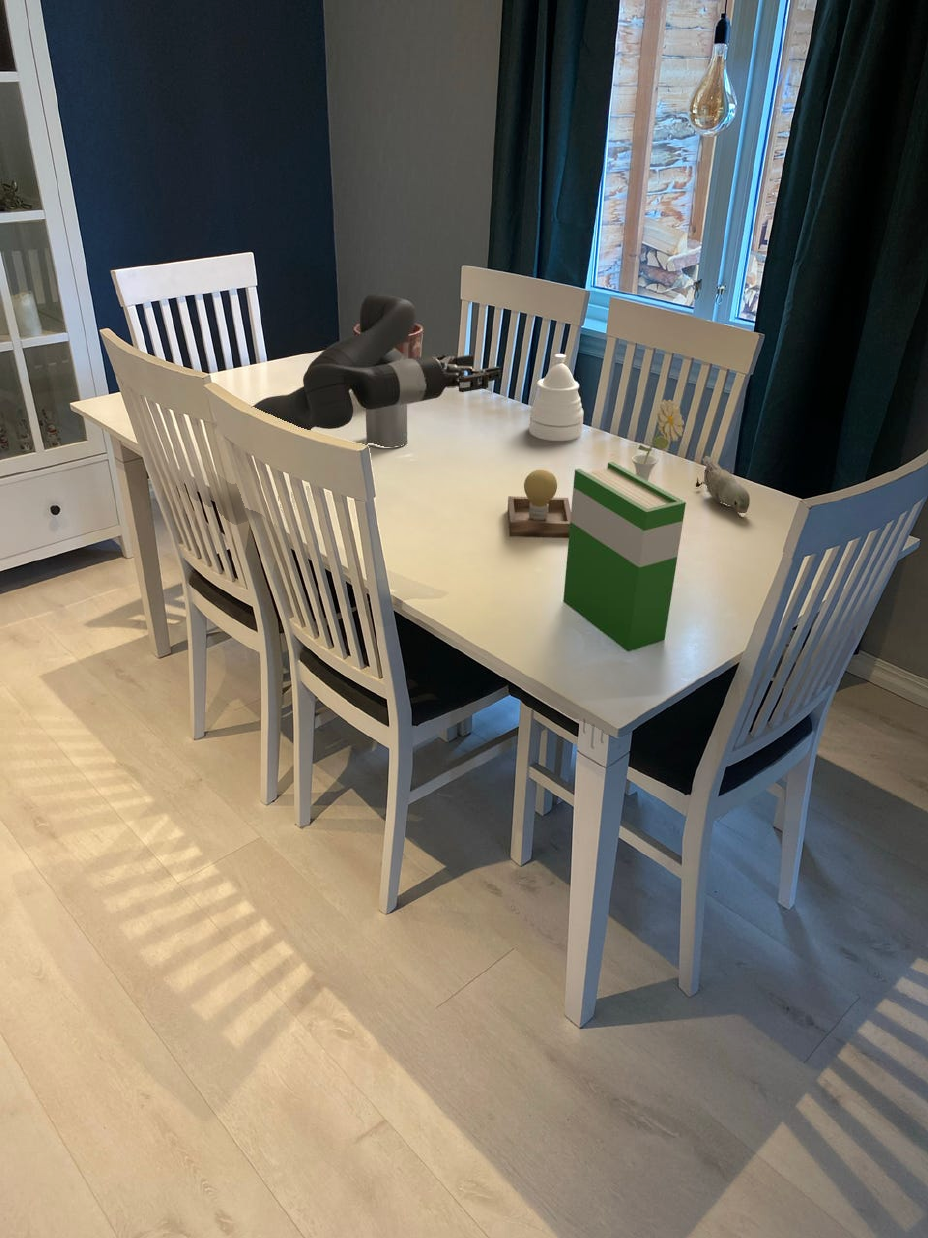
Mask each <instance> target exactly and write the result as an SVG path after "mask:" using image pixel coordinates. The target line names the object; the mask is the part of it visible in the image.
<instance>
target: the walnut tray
mask: <svg viewBox="0 0 928 1238" xmlns="http://www.w3.org/2000/svg"><path fill="white" fill-rule="evenodd" d="M530 502H531V501H530V500H529V498H528V497H527V496H508V498H507V517H508V518H507V521H508V531H509V532H508V533H509V535H508V536H509V537H512V538H513V537H518V538H519V537H521V538H551V539H552V538H555V539H556V538H557V539H560V538H561V539H569V531H570V519H571V506H570V505H571V504H570V499H569V497H553V498H552V499H551V500H550V501H549V502H548V504H549V508H548V517H547V519H545V520H543V521H535V520H532V519H531V518H530V517H529V508H530V507H529V505H530Z"/></svg>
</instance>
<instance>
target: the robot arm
mask: <svg viewBox="0 0 928 1238" xmlns="http://www.w3.org/2000/svg"><path fill="white" fill-rule="evenodd" d="M416 313H417V312H416V308H415V306H414V305H413V304H412V303H411V302H410V300H407V299H405V298H402V297H399V296H393V295H387V294H381V293H370V294H368V295H366V297H365V298H364V300H363V301H362V303H361V306H360V311H359V324H360V332H361V333H360V334H357V335H354V334H353V335H351V336H349V337H346V338H344V339H341V340H339V341H336V342H334V343H332V344H331V345H329V346H327V347H326V348H325V349H324V350H323V351H322V352H321V353H320V354H319V355H318V356H316V357H315V359H313V361H311V362H310V364H309V366H308V368H307V370H306V371H305V373H304V374H303V376H302V384H303V386H302V387H299V388H298V389H296V390H294V391H293V392H291V393H289V394H284V395H275V396H274V395H273V396H269V397H266V398H263V399H262V400H259V401H258V402H257V403H255V404H253V406H252V407H255V408H257V409H259V410H261V411H263V412H265V413H268V414H271V415H273V416H275V417H277V418H280V419H282V420H284V421H287V422H289V423H292V424H294V425H296V426H298V427H301V428H304V429H307V430H310V431H311V430H312V429H313V428H319V429H325V430H333V429H334V430H335V429H339V428H342V427H345V426H346V425H347V424H349V423H350V422H351V420H352V419H353V416H354V406H353V402H352V401H353V400H352V398H351V392H350V390H351V391H352V393H353V395H354V397H355V399H356V400H357V402H358V403H359V405H360V406H361V407H362V408H363V409H364V410H365V427H366V428H365V432H366V433H365V434H366V435H365V436H366V439H365V440H366V445H367V444H368V443H374V444H377V445H380V446H384V447H395V446H401V445H403V444H405V443H406V444H407V443H408V405H411V404H415V403H418V402H424V401H430V400H433V399H437V398H440V396H441V395H442V394H443V392H444V390H445V389H446V388H448V389H455V388H457V387H458V392H459V393H466V392H472V391H477V390H483V389H488V388H489V382H492V381H493V382H494V381H498V380H501V378H502V367H501V366H498V365H497V366H492V367H487V368H482V369H480V368H479V369H478V368H473V367H474V355H472V354H466V355H460V356H456V357H455V356H453V355H449V356H447V354H444V353H442V354H437V355H430V354H429V355H428V354H427V355H421V357H415V358H410V359H406V357H405V356H404V355H403V354H402V353H401V352H399V351H398V350H397V349H396V348H395V347H396V346H398V345H399V344H400V343H401V342H403V341H404V340H405V339H406V338H407V337H408V335H409V334H410V333H411V331H412V329H413V327H414V324H415V323H416V319H417V314H416ZM465 372H466V373H467V375H466V374H465ZM406 444H405V445H406ZM369 446H370V445H369ZM370 447H371V446H370ZM401 447H402V446H401Z"/></svg>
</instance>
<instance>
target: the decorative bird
mask: <svg viewBox="0 0 928 1238" xmlns="http://www.w3.org/2000/svg"><path fill="white" fill-rule="evenodd" d="M702 461H703V464H704V465H705V469H704V474H703V475H704V476H703V481H701V482H699V478H698V477H696V483H695V487H699V486H701V485H705V487H706V486H707V488H706V489H707V491H708V492H709V494H710V496H711V497H712V498H713V500H714V501H715V502H717V503H718V502H722V503H725V504H727V505H730V506H732V507H733V508H734V509H735V510H736V512H737V513H738V512H739V513H746V512H747V513H748V510H749V508H750V502H751V499H750V498H751V497H750V494H749V492H748V490H747V489H746V488H745V487H744V486H743V485H742V484H741V483H739V482H738V481H737V480H736V478H735V477H734V476H733V475H732V474H731V473H730V472H729V471H728V470H726V469H725V468H723V467H721V466H720V465H719V463H718V462H717V461H715V459H713V458H712V457H710V456H709V455H705V456H704V457H703V458H702ZM699 488H700V487H699ZM747 513H746V514H747Z"/></svg>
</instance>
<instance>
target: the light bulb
mask: <svg viewBox="0 0 928 1238" xmlns="http://www.w3.org/2000/svg"><path fill="white" fill-rule="evenodd" d="M557 482H558V481H557V479H556V476H555V475H554V474H553V473H552V472H550V471H548V470H545V469H536V470H535V469H534V470H533V471H531V472H530V473H529V474H528V475H526V477H525V479H524V483H523V490H524V493H525V495H526V497H528V498H529V500H530V501H531V502H530V505H529V507H530V508H529V517H530V518H531V519H532V520H535V521H543V520H545V519H547V517H548V508H549V504H548V502H549V501H550V500H551V499H552V498H554V497H555V495H556V494H557V489H558V483H557Z"/></svg>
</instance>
